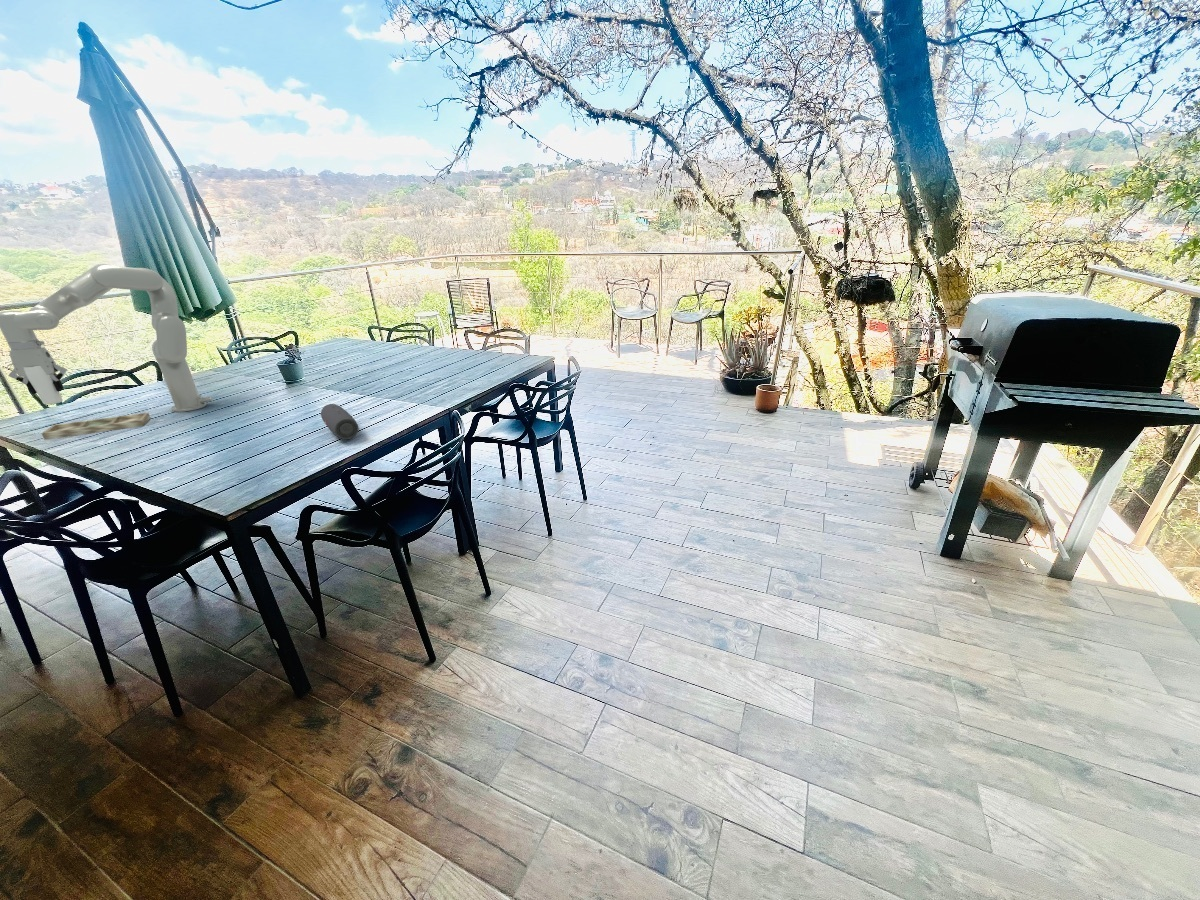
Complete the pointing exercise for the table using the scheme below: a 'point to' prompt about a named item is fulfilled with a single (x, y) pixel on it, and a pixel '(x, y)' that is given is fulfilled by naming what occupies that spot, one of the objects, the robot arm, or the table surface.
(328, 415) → the bluetooth speaker
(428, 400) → the table surface
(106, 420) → the wooden compartment tray
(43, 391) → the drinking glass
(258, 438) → the table surface
